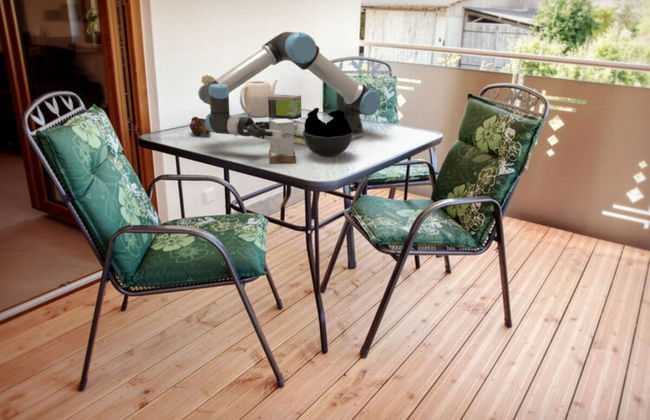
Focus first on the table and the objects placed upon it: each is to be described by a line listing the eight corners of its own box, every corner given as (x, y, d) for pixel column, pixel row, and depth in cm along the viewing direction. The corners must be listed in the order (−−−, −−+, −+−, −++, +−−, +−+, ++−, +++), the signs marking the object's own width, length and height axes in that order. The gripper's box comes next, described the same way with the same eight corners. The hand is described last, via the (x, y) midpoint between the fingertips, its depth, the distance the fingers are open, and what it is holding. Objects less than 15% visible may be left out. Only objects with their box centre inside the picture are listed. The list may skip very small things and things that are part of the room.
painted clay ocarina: (201, 130, 244) (201, 114, 241) (218, 138, 234) (218, 121, 231) (183, 132, 237) (183, 115, 234) (200, 140, 228) (200, 122, 225)
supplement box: (276, 155, 190) (276, 122, 186) (269, 151, 196) (268, 119, 192) (294, 153, 193) (294, 121, 189) (286, 149, 199) (286, 117, 195)
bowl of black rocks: (359, 160, 197) (361, 113, 190) (311, 164, 190) (312, 115, 183) (341, 148, 214) (342, 104, 207) (296, 152, 208) (296, 106, 201)
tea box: (301, 123, 265) (301, 94, 260) (294, 126, 256) (294, 97, 251) (276, 120, 270) (275, 93, 264) (268, 124, 261) (267, 95, 255)
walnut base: (294, 156, 201) (293, 149, 200) (295, 163, 192) (295, 155, 191) (269, 157, 200) (268, 149, 199) (269, 163, 191) (269, 156, 189)
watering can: (286, 114, 287) (286, 81, 280) (249, 120, 270) (248, 84, 263) (269, 110, 297) (268, 78, 291) (232, 116, 280) (231, 82, 273)
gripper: (257, 129, 210) (303, 134, 202) (224, 142, 189) (274, 148, 181) (256, 111, 207) (303, 116, 200) (223, 122, 186) (273, 127, 178)
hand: (289, 131), depth 190 cm, fingers open, 13 cm apart
